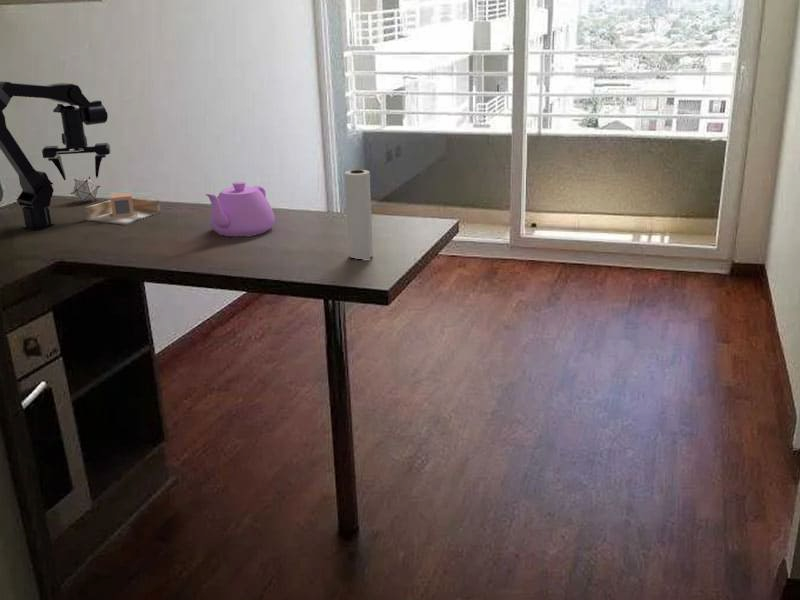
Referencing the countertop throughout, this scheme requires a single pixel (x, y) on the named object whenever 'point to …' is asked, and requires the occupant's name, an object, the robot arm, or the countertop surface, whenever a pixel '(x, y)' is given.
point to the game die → (85, 189)
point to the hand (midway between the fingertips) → (81, 178)
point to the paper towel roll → (359, 213)
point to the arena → (140, 208)
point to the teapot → (241, 211)
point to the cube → (121, 204)
